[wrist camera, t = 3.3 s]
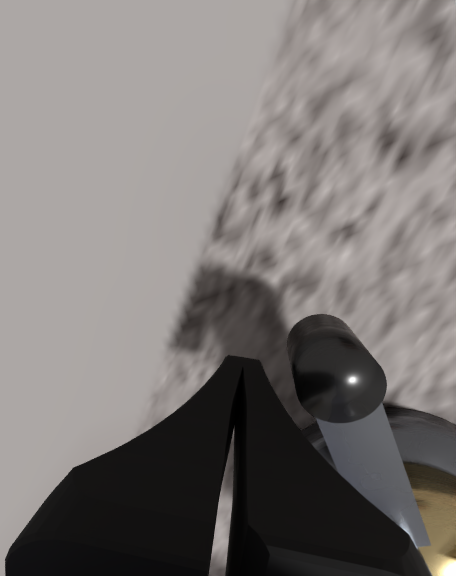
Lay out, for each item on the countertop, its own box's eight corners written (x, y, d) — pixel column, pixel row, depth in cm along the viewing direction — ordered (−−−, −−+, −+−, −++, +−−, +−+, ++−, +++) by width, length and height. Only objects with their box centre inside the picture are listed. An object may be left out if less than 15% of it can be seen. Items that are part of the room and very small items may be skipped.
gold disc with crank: (511, 583, 13) (610, 725, 9) (330, 602, 15) (353, 726, 11) (428, 265, 9) (537, 296, 6) (202, 344, 11) (176, 406, 7)
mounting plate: (452, 589, 16) (474, 630, 14) (254, 546, 16) (254, 581, 15) (542, 431, 12) (584, 463, 11) (287, 389, 13) (290, 412, 12)
